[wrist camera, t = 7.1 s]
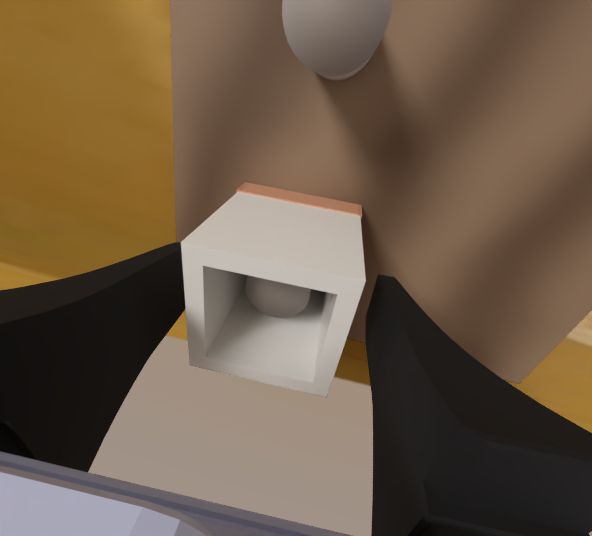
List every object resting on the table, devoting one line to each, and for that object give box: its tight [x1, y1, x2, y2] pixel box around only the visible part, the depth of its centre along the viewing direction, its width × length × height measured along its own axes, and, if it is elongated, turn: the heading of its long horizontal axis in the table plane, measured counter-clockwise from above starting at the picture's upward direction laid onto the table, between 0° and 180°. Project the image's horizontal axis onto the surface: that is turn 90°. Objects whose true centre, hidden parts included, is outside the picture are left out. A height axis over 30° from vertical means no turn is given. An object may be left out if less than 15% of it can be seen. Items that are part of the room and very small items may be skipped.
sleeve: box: [181, 182, 366, 397], centre depth 12 cm, size 5×5×6 cm
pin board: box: [170, 0, 592, 384], centre depth 11 cm, size 20×16×5 cm
